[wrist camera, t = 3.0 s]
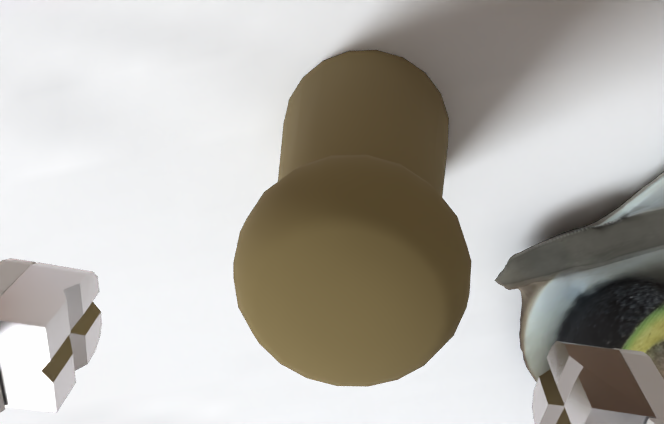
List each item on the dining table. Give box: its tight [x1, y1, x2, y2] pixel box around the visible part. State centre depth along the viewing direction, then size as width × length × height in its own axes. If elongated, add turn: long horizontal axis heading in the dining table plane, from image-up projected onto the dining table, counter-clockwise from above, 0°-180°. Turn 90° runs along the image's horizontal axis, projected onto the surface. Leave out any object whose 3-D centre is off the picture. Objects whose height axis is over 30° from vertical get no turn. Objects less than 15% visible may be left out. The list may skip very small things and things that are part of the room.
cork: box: [234, 50, 471, 386], centre depth 16 cm, size 6×6×11 cm
